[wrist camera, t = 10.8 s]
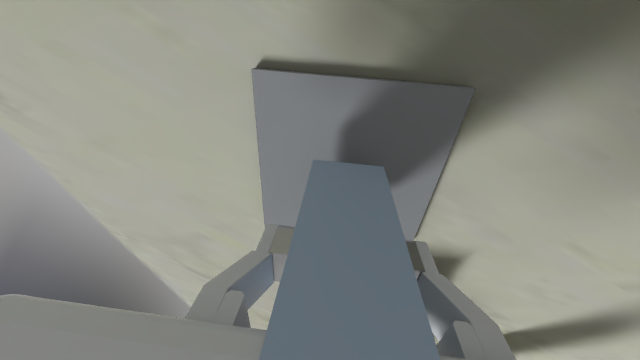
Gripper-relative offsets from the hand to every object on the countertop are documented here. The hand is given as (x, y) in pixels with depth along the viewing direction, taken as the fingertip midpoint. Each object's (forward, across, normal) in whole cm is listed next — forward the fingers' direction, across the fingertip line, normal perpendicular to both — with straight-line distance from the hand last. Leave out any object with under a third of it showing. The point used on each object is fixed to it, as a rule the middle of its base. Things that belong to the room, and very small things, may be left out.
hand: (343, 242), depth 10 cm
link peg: (+4, 0, 0) cm, 4 cm away
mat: (+6, 0, 0) cm, 7 cm away
